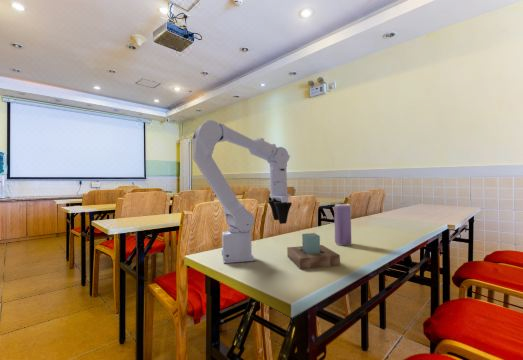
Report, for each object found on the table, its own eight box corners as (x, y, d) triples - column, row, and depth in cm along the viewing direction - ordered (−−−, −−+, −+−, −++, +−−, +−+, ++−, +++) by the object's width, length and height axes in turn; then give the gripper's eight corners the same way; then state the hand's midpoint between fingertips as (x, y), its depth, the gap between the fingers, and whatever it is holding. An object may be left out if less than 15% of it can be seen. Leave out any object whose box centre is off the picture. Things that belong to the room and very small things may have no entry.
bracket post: (307, 263, 76) (307, 236, 76) (302, 259, 80) (302, 233, 80) (320, 262, 76) (319, 235, 76) (314, 258, 80) (314, 233, 80)
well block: (300, 269, 71) (299, 258, 71) (287, 256, 83) (287, 247, 83) (339, 265, 73) (339, 255, 73) (322, 253, 85) (322, 244, 85)
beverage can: (348, 246, 93) (347, 205, 93) (332, 244, 97) (331, 204, 97) (353, 243, 98) (352, 204, 98) (338, 241, 102) (337, 203, 102)
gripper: (296, 182, 82) (297, 224, 82) (283, 181, 96) (285, 217, 97) (275, 182, 81) (276, 225, 81) (265, 182, 95) (266, 219, 95)
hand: (279, 221), depth 89 cm, fingers open, 7 cm apart
